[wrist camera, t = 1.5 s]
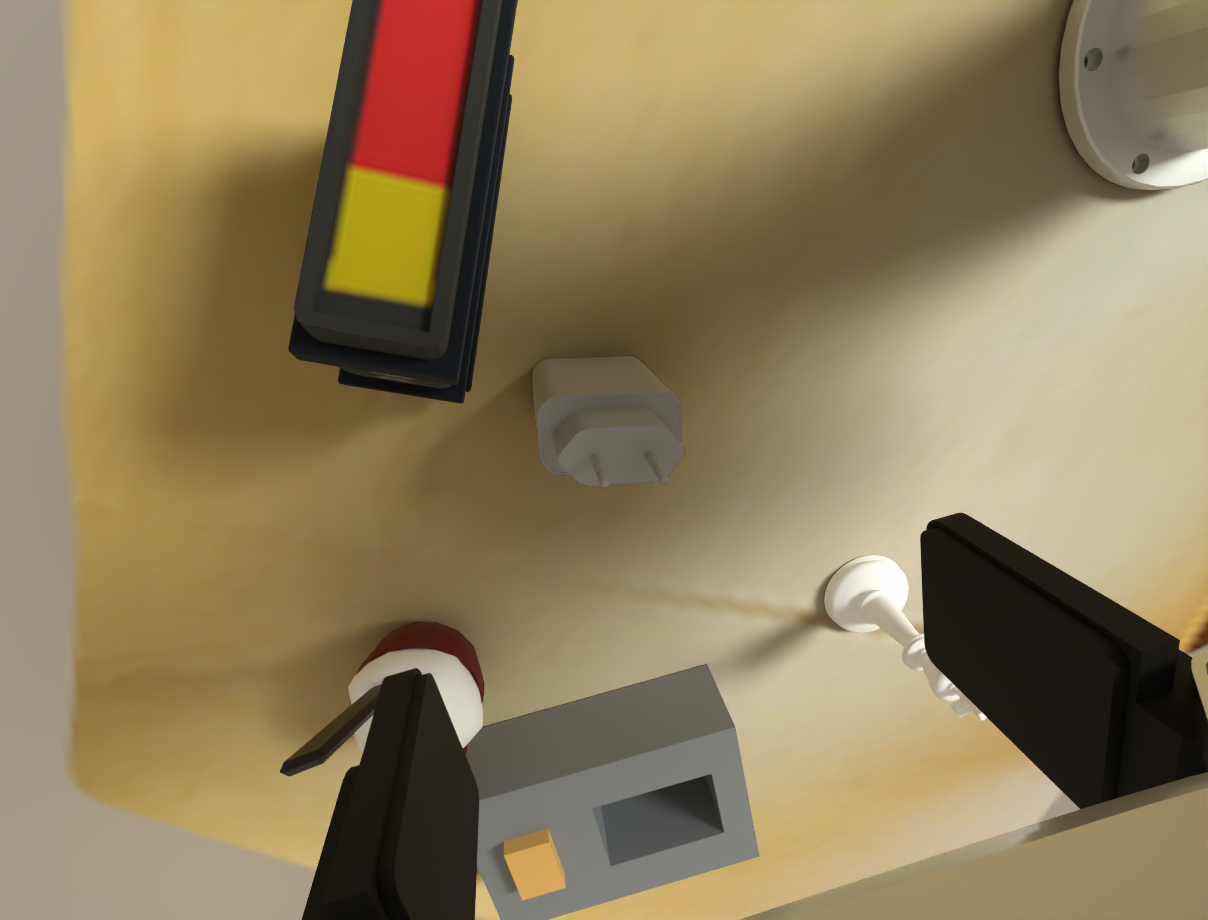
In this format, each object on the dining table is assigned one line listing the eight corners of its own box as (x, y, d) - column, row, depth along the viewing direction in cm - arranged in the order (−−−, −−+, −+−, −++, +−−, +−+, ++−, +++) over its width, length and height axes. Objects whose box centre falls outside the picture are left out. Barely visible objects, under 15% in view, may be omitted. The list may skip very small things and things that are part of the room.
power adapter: (643, 417, 31) (718, 522, 19) (534, 423, 30) (547, 535, 19) (644, 355, 30) (724, 429, 18) (531, 359, 29) (542, 438, 18)
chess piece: (914, 597, 37) (1050, 719, 28) (844, 641, 37) (954, 776, 28) (883, 539, 35) (1017, 648, 26) (810, 585, 36) (915, 710, 26)
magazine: (377, 433, 27) (270, 336, 13) (424, 158, 29) (377, -212, 14) (463, 446, 28) (456, 368, 13) (504, 177, 30) (537, -157, 15)
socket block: (706, 664, 36) (740, 738, 31) (730, 784, 40) (764, 869, 35) (459, 733, 36) (450, 822, 30) (507, 849, 39) (506, 947, 34)
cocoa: (490, 710, 35) (480, 933, 24) (376, 721, 35) (309, 957, 23) (480, 563, 32) (462, 742, 21) (353, 571, 31) (263, 762, 20)
